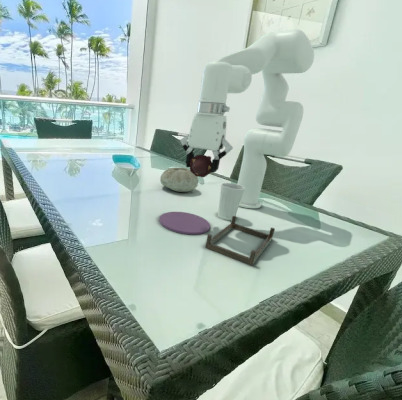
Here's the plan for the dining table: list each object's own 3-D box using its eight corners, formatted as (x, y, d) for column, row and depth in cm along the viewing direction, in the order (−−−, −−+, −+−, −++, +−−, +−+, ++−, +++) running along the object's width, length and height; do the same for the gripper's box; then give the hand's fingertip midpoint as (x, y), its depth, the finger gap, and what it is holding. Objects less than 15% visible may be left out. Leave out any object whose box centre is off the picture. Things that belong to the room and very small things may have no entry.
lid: (175, 210, 104) (175, 208, 104) (217, 224, 94) (218, 222, 94) (149, 222, 92) (149, 220, 91) (195, 240, 82) (195, 237, 81)
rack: (230, 226, 94) (233, 215, 92) (272, 239, 86) (275, 228, 85) (204, 247, 78) (207, 234, 77) (252, 266, 70) (255, 252, 69)
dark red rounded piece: (211, 161, 75) (222, 159, 88) (187, 151, 78) (201, 150, 91) (200, 184, 78) (212, 178, 91) (178, 173, 81) (192, 169, 94)
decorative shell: (170, 196, 120) (173, 174, 117) (152, 184, 135) (155, 164, 132) (204, 194, 126) (207, 173, 123) (183, 183, 142) (186, 164, 139)
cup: (241, 217, 102) (248, 187, 98) (232, 223, 96) (239, 190, 92) (220, 211, 107) (227, 181, 103) (211, 215, 101) (217, 185, 97)
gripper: (245, 112, 77) (232, 173, 83) (189, 108, 87) (182, 162, 93) (236, 111, 71) (223, 177, 77) (178, 107, 81) (170, 165, 87)
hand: (201, 168), depth 85 cm, fingers closed on dark red rounded piece, 7 cm apart
